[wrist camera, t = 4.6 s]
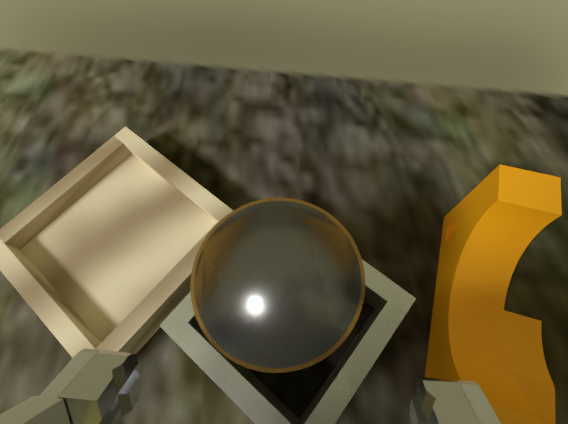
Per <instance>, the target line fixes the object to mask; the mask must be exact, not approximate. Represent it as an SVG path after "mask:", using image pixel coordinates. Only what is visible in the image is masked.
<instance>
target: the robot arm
mask: <svg viewBox="0 0 568 424" xmlns="http://www.w3.org/2000/svg"><path fill="white" fill-rule="evenodd" d="M137 364H138V360H137V356H136V354H133V353H126V352H118V351H109V350H98V349H88V348H85V349H83V350H81V351H79V352H78V353H77V354H76V355H75V356H74V358H73V359H72V360H71V361H70V362H69V363H68V364H67V365H66V366H65V368H64V369H63V370H62V371H61V372H60V373H59V374H58V375H57V376H56V378H55V379H54V380H53V381H52V382H51V383H50V384H49V385H48V387H47V388H46V389H45V390H44V391H43V392H42V393H41V394H40V395H39V396H32V397H31V398H29V399H27V400H25V401H23V402H22V403H20V404H18V405H16V406H15V407H13V408H11V409H9V410H7V411H6V412H4V413H2V414H0V424H123V416H124V415H126V414H127V413H128V412H130V411H131V410H132V409H133V407H134V405H135V403H136V402H137V399H138V396H139V393H140V390H141V376H140V374H139V373H138V372H137V370H136V369H135V367H136V365H137ZM414 388H415V391H416V394H417V395H415V396H414V397H413V398H412V399H411V404H410V421H411V424H501V422H500V421H499V419H498V417H497V415H496V414H495V412H494V410H493V408H492V407H491V405H490V403H489V402H488V400H487V398H486V396H485V395H484V393H483V391H482V389H481V388H480V386H479V385H478V384H477V383H476V382H475V381H464V380H453V379H439V378H425V377H418V378H417V379H416V382H415V386H414Z"/></svg>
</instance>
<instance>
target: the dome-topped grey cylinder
mask: <svg viewBox="0 0 568 424" xmlns="http://www.w3.org/2000/svg"><path fill="white" fill-rule="evenodd" d="M190 289H191V300H192V306H193V310H194V313H195V316H196V319H197V321H198V323H199V325H200V328H201V330H202V331H203V333H204V334H205V336H206V337H207V339H208V340H209V341H210V342H211V343H212V345H213V346H214V347H215V348H216V349H217V350H218V351H219V352H221V353H222V354H223V355H224V356H225V357H227V358H228V359H230V360H232V361H233V362H235V363H237V364H239V365H241V366H244V367H246V368H248V369H252V370H256V371H260V372H268V373H286V372H292V371H297V370H301V369H304V368H307V367H310V366H312V365H314V364H316V363H318V362H320V361H322V360H323V359H325V358H326V357H327V356H329V355H330V354H332V353H333V352H334V351H335V350H336V349H337V348H338V347H339V346H340V345H341V344H342V343H343V342H344V341H345V339H346V338H347V337H348V336H349V334H350V333H351V331H352V329H353V328H354V326H355V324H356V322H357V320H358V317H359V315H360V313H361V309H362V305H363V302H364V295H365V273H364V266H363V262H362V258H361V255H360V253H359V250H358V248H357V245H356V244H355V242H354V240H353V238H352V237H351V235H350V234H349V233H348V231H347V230H346V229H345V227H344V226H343V225H342V224H341V223H340V222H339V221H338V220H337V219H336V218H334V217H333V216H332V215H331V214H329V213H328V212H326V211H325V210H323V209H321V208H320V207H317V206H315V205H313V204H311V203H308V202H305V201H302V200H297V199H292V198H268V199H262V200H257V201H254V202H251V203H248V204H246V205H243V206H241V207H239V208H237V209H235V210H234V211H232V212H230V213H229V214H228V215H226V216H225V217H224V218H222V219H221V220H220V221H219V222H218V223H217V224H216V225H215V226H214V227H213V228H212V230H211V231H210V232H209V233H208V235H207V236H206V238H205V239H204V241H203V242H202V244H201V246H200V248H199V250H198V252H197V255H196V258H195V260H194V264H193V268H192V273H191V283H190Z"/></svg>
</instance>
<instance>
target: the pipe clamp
mask: <svg viewBox="0 0 568 424" xmlns="http://www.w3.org/2000/svg"><path fill="white" fill-rule="evenodd" d="M561 215H562V208H561V180H560V177H556V176H551V175H547V174H542V173H537V172H533V171H528V170H523V169H519V168H514V167H510V166H505V165H499V166H498V167H496V168H495V169H494V170H493V171H492V172H491V173H490V174H489V175H488V176H487V177H486V178H485V179H484V180H483V181H482V182H481V183H480V184H479V185H477V186H476V187H475V188H474V189H473V190H472V191H471V192H470V193H469V194H468V195H467V196H466V197H465V198H464V199H463V200H462V201H461V202H459V203H458V204H457V205H456V206H455V207H454V208H453V209H452V210H451V211H450V212H449V213H448V214H447V215H446V216H445V217H444V221H443V229H442V238H441V246H440V254H439V263H438V271H437V279H436V287H435V296H434V304H433V312H432V320H431V329H430V337H429V345H428V353H427V362H426V370H425V378H439V379H453V380H464V381H475V382H476V383H477V384H478V385H479V386H480V388H481V389H482V391H483V393H484V395H485V396H486V398H487V400H488V402H489V403H490V405H491V407H492V408H493V410H494V412H495V414H496V415H497V417H498V419H499V421H500V422H501V424H556V417H555V386H554V384H553V382H552V379H551V377H550V374H549V371H548V368H547V365H546V362H545V357H544V353H543V346H542V336H541V323H542V321H540V320H537V319H533V318H530V317H526V316H523V315H519V314H516V313H512V312H509V311H505V310H504V305H505V299H506V294H507V289H508V286H509V283H510V279H511V277H512V274H513V271H514V269H515V267H516V265H517V263H518V261H519V259H520V257H521V255H522V254H523V252H524V250H525V249H526V247H527V246H528V245H529V243H530V242H531V241H532V240H533V238H534V237H535V236H536V235H537V234H538V233H539V232H540V231H541V230H542V229H543V228H544V227H545V226H546V225H548V224H549V223H550V222H552V221H553V220H555V219H556V218H558V217H560V216H561Z"/></svg>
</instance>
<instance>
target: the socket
mask: <svg viewBox="0 0 568 424" xmlns="http://www.w3.org/2000/svg"><path fill="white" fill-rule="evenodd" d="M276 198H277V197H276ZM362 262H363V266H364V273H365V295H364V302H366V303H367V304H368V305H370V306H371V307H372V308H373V309H374V311H373V312H372V314H371V315H370V317H369V318H368V320H367V321H366V322H365V324H364V325H363V327H362V328H361V330H360V331H359V333H358V334H357V336H356V337H355V338H354V340H353V341H352V343H351V344H350V346H349V347H348V349H347V350H346V352H345V353H344V354H343V356H342V357H341V359H340V360H339V362H338V363H337V365H336V366H335V367H334V369H333V370H332V372H331V373H330V375H329V376H328V378H327V379H326V381H325V382H324V383H323V385H322V386H321V388H320V389H319V391H318V392H317V394H316V395H315V397H314V398H313V399H312V401H311V402H310V404H309V405H308V407H307V408H306V410H305V411H304V413H303V414H302V415H301V417H300V418H298V417H297V416H296V415H295V414H294V413H293V412H292V411H291V410H290V409H289V408H288V407H287V406H286V405H285V404H284V403H283V402H281V401H280V400H279V399H278V398H277V397H276V396H275V395H274V394H273V393H272V392H271V391H270V390H269V389H268V388H267V387H266V386H265V385H264V384H263V383H262V382H261V381H260V380H259V379H258V378H257V377H256V376H254V375H253V374H252V373H251V372H250V371H249V370H248V369H247V368H246V367H244V366H241V365H239V364H237V363H235V362H233V361H232V360H230V359H228V358H227V357H225V356H224V355H223V354H222V353H221V352H219V351H218V350H217V349H216V348H215V347H214V346H213V345H212V343H211V342H210V341H209V340H208V339H207V337H206V336H205V334H204V333H203V331H202V330H201V328H200V325H199V323H198V321H197V319H196V316H195V313H194V310H193V306H192V300H191V291H190V293H189V294H188V295H187V296H186V297H185V298H184V299H183V300H182V301H181V302H180V304H179V305H178V306H177V307H176V308H175V309H174V310H173V311H172V312H171V313H170V314H169V316H168V317H167V318H166V319H165V320H164V321H163V322H162V323H161V324H160V325H159V326H160V327H161V328H162V329H163V330H164V331H165V332H166V333H167V334H168V335H169V336H170V337H171V338H172V339H173V340H174V341H175V342H176V343H177V344H178V345H179V346H180V347H181V348H182V349H183V350H184V351H185V352H186V353H187V354H188V356H189V357H190V358H191V359H192V360H193V361H194V362H195V363H196V364H197V365H198V366H199V367H200V368H201V369H202V370H203V371H204V372H205V373H206V374H207V375H208V376H209V377H210V378H211V379H212V380H213V381H214V382H215V383H216V384H217V385H218V386H219V387H220V388H221V389H222V390H223V391H224V392H225V393H226V394H227V395H228V396H229V397H230V398H231V399H232V400H233V401H234V402H235V404H236V405H237V406H238V407H239V408H240V409H241V410H242V411H243V412H244V413H245V414H246V415H247V416H248V417H249V418H250V419H251V420H252V421H253V422H254V423H255V424H335V423H336V421H337V420H338V418H339V417H340V415H341V414H342V412H343V410H344V409H345V407H346V406H347V404H348V403H349V401H350V400H351V398H352V397H353V395H354V394H355V392H356V390H357V389H358V387H359V386H360V384H361V383H362V381H363V380H364V378H365V377H366V375H367V374H368V372H369V370H370V369H371V367H372V366H373V364H374V363H375V361H376V360H377V358H378V357H379V355H380V354H381V352H382V350H383V349H384V347H385V346H386V344H387V343H388V341H389V340H390V338H391V337H392V335H393V333H394V332H395V330H396V329H397V327H398V326H399V324H400V323H401V321H402V320H403V318H404V317H405V315H406V313H407V312H408V310H409V309H410V307H411V306H412V304H413V303H414V301H415V300H416V298H415V297H413V296H412V295H411V294H409V293H408V292H407V291H405V290H404V289H402V288H401V287H400V286H398V285H397V284H395V283H394V282H393V281H391V280H390V279H389V278H387V277H386V276H384V275H383V274H382V273H380V272H379V271H378V270H376V269H375V268H373V267H372V266H371V265H369V264H368V263H366V262H365V261H364V260H362Z"/></svg>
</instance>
